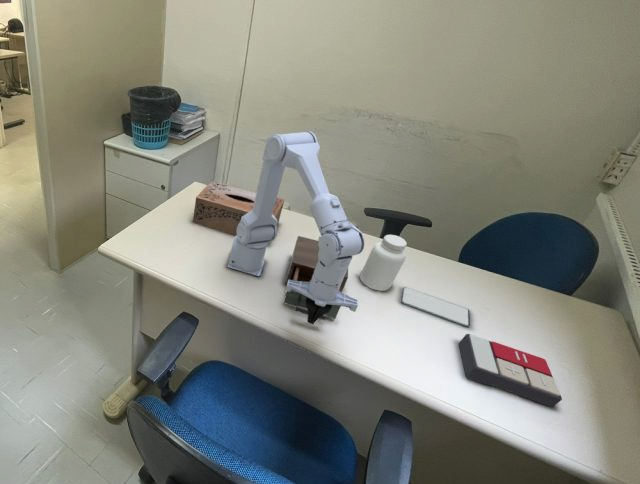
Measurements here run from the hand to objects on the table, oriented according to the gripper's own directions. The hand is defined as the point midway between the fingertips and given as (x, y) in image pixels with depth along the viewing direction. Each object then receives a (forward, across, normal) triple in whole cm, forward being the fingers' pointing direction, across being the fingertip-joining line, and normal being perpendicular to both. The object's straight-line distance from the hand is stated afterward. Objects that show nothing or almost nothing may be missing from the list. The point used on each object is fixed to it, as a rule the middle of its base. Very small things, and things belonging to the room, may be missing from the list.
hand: (310, 320), depth 93 cm
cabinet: (+6, 0, +24) cm, 25 cm away
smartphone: (+6, +30, +26) cm, 40 cm away
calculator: (+6, +41, +10) cm, 43 cm away
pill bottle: (+6, +16, +30) cm, 35 cm away
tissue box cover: (+6, -27, +42) cm, 51 cm away
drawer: (+5, 0, +13) cm, 14 cm away
